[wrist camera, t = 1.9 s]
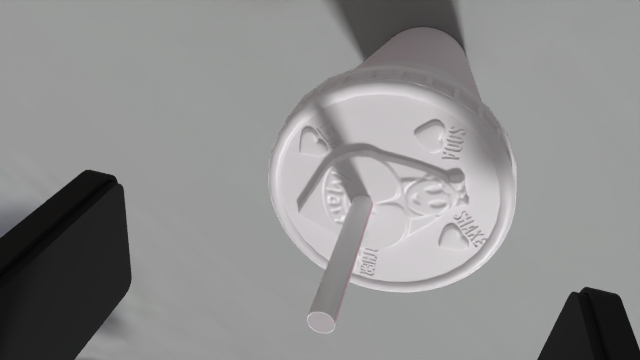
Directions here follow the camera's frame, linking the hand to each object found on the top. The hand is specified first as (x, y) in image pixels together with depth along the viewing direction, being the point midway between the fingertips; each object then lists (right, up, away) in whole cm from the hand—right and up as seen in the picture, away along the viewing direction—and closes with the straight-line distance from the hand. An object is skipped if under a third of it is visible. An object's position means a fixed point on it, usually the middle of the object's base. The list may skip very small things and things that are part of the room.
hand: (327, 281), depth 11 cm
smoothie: (+4, +7, +11) cm, 13 cm away
